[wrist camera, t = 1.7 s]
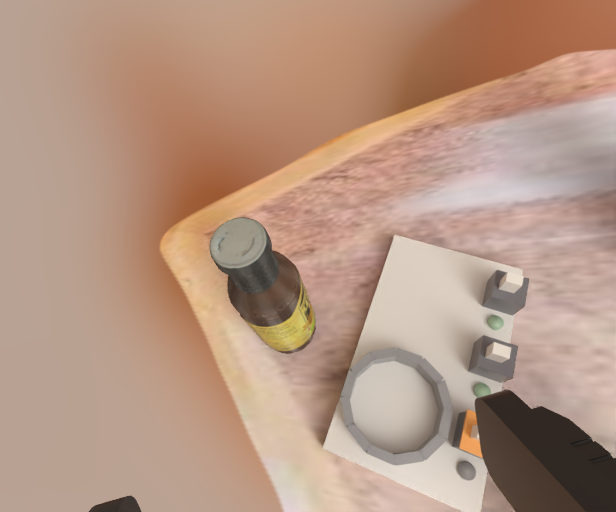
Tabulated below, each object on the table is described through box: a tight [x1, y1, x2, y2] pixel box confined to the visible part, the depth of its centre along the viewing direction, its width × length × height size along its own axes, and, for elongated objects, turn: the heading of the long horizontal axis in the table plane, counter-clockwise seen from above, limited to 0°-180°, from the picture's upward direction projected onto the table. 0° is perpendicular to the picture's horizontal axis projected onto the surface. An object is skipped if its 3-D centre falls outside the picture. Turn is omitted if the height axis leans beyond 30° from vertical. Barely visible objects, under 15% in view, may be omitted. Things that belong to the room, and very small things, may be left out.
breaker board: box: [323, 235, 529, 512], centre depth 35 cm, size 24×14×7 cm, turn 158°
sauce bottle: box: [210, 217, 315, 354], centre depth 33 cm, size 6×6×20 cm
